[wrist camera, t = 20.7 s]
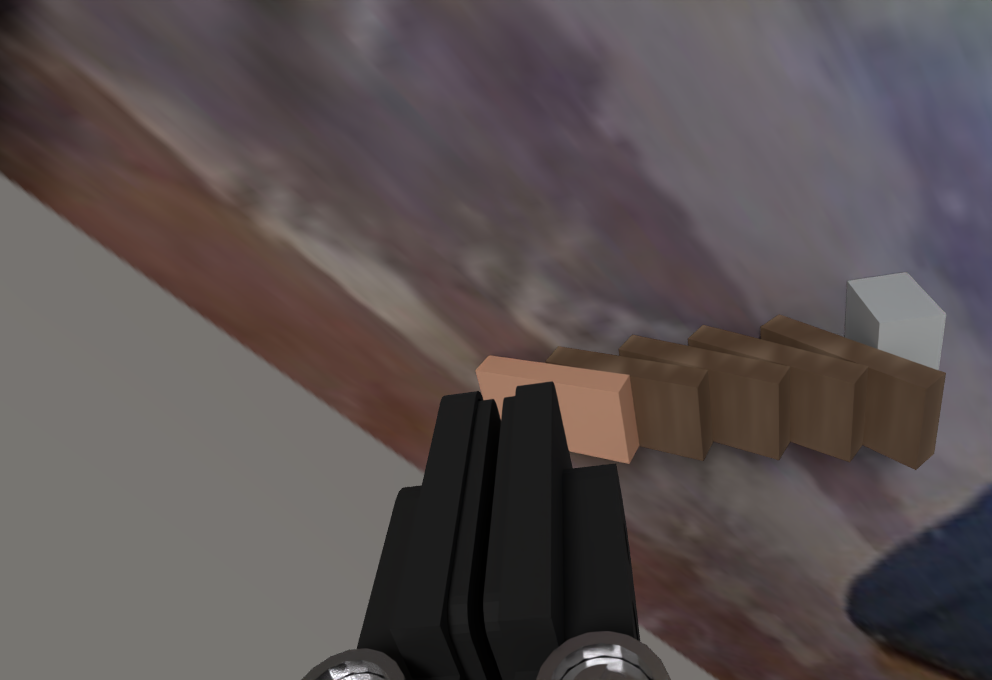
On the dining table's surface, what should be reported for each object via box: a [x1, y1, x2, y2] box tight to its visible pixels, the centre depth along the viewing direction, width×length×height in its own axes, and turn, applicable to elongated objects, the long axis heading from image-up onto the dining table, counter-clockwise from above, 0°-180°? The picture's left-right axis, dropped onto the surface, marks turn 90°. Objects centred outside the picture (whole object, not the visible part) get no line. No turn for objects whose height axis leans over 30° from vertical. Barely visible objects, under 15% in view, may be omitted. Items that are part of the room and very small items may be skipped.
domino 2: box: [545, 346, 713, 461], centre depth 40 cm, size 2×5×9 cm
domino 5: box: [760, 315, 946, 470], centre depth 37 cm, size 2×5×9 cm
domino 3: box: [619, 335, 790, 460], centre depth 39 cm, size 2×5×9 cm
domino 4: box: [688, 325, 868, 462], centre depth 38 cm, size 2×5×9 cm
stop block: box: [845, 272, 946, 370], centre depth 38 cm, size 3×8×4 cm, turn 12°
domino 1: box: [475, 355, 639, 464], centre depth 41 cm, size 2×5×9 cm
